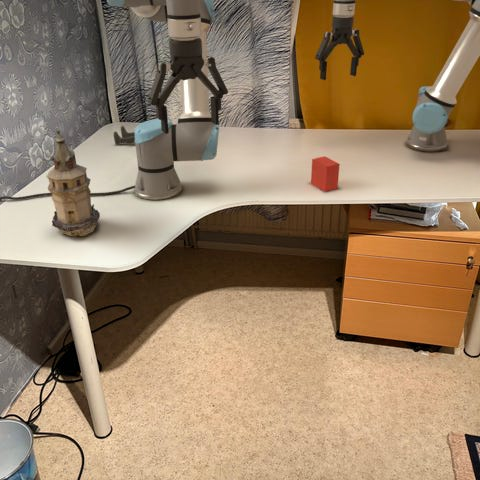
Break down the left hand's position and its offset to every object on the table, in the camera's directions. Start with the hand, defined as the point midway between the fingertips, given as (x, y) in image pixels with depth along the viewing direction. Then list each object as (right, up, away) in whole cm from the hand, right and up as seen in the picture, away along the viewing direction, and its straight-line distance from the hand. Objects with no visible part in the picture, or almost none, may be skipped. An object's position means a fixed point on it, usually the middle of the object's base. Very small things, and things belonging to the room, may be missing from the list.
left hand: (190, 127), depth 134 cm
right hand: (+49, +33, +66) cm, 89 cm away
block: (+41, -10, +47) cm, 63 cm away
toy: (-23, +12, +86) cm, 90 cm away
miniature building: (-35, -25, +22) cm, 48 cm away
